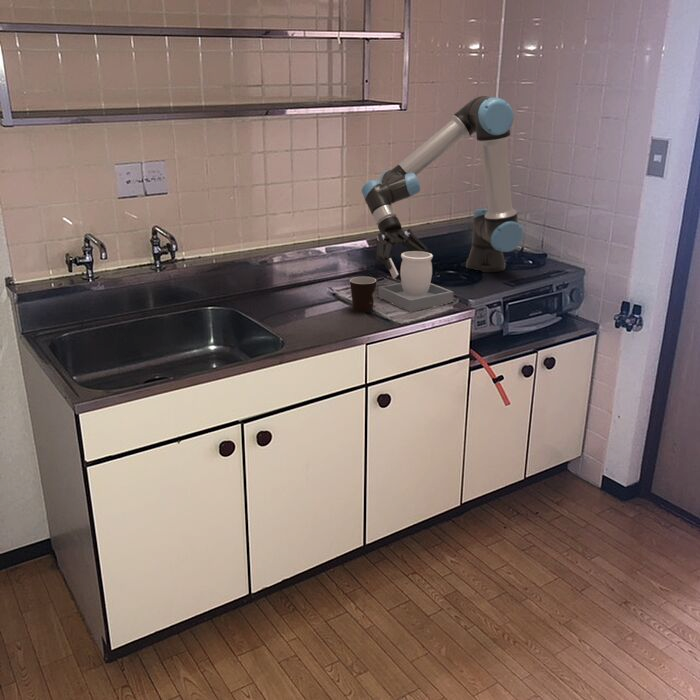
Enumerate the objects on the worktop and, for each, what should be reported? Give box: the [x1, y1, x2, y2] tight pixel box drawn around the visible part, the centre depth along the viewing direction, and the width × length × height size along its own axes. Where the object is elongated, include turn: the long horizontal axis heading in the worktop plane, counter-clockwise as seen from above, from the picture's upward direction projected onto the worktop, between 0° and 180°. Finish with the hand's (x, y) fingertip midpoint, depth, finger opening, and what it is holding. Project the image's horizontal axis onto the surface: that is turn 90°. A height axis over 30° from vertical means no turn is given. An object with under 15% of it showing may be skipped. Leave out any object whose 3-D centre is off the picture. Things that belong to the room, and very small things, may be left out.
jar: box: [399, 250, 434, 299], centre depth 257 cm, size 11×10×15 cm
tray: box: [378, 282, 454, 313], centre depth 260 cm, size 18×18×4 cm
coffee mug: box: [349, 276, 377, 314], centre depth 250 cm, size 12×9×10 cm
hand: (412, 273), depth 258 cm, fingers open, 13 cm apart
